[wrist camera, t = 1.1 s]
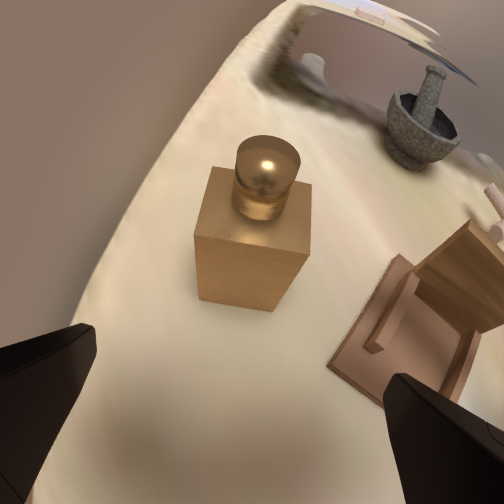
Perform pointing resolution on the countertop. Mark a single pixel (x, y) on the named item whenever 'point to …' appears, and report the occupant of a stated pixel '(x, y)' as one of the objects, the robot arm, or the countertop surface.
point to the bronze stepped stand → (427, 318)
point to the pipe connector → (500, 204)
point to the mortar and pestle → (420, 124)
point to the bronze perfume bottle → (253, 226)
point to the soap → (370, 15)
